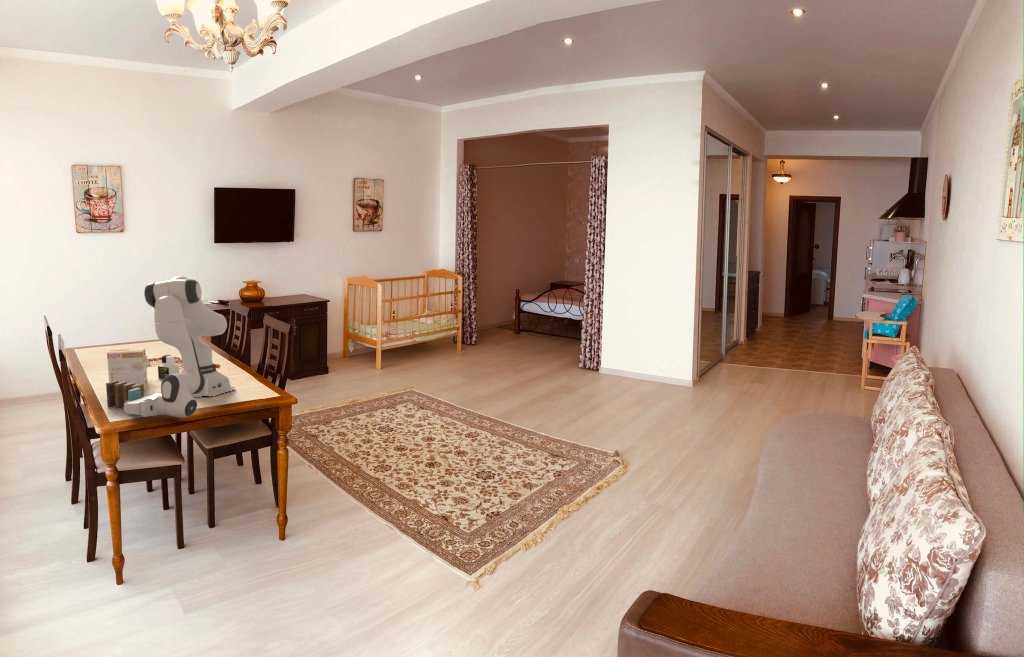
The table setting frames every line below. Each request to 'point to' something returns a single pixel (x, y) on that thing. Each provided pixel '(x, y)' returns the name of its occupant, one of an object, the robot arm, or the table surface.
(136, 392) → the teal domino
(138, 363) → the coffeecake box
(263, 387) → the table surface
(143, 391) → the walnut domino
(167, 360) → the medicine bottle
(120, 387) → the walnut domino
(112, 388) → the end domino
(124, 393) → the walnut domino
